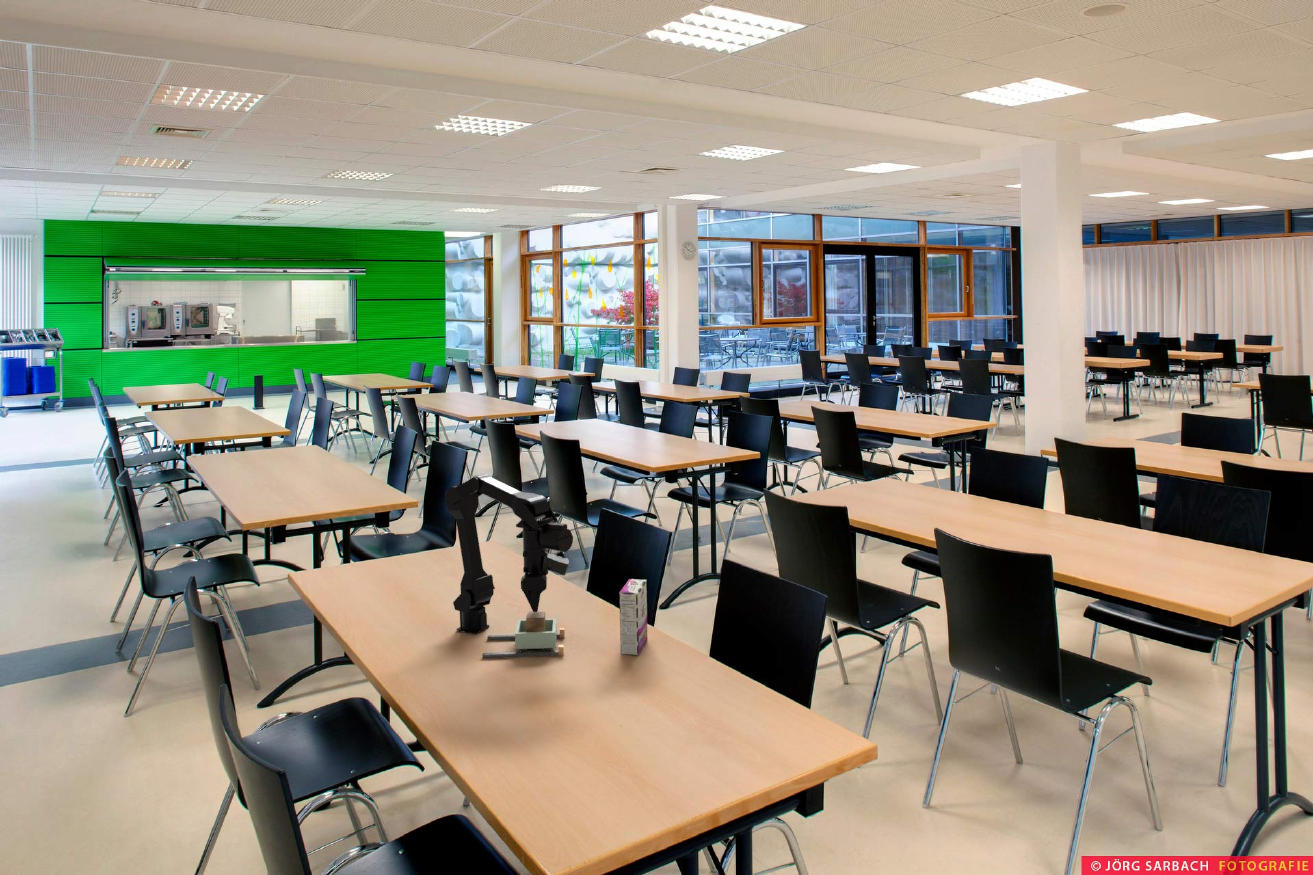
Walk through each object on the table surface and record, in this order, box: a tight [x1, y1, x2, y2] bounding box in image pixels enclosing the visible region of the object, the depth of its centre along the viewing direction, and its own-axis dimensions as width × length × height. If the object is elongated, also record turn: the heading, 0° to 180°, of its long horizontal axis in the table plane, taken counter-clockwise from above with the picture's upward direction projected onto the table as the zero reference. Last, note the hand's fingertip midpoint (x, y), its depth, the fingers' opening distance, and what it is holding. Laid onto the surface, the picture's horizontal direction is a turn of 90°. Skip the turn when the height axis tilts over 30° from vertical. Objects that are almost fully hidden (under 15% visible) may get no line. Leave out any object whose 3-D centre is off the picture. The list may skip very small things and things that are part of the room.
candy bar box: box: [618, 578, 648, 656], centre depth 227 cm, size 11×5×16 cm, turn 168°
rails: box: [481, 627, 566, 660], centre depth 228 cm, size 20×13×2 cm, turn 95°
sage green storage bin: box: [514, 618, 558, 652], centre depth 228 cm, size 10×10×5 cm
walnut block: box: [525, 611, 546, 632], centre depth 228 cm, size 4×4×6 cm
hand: (536, 605), depth 227 cm, fingers open, 9 cm apart
